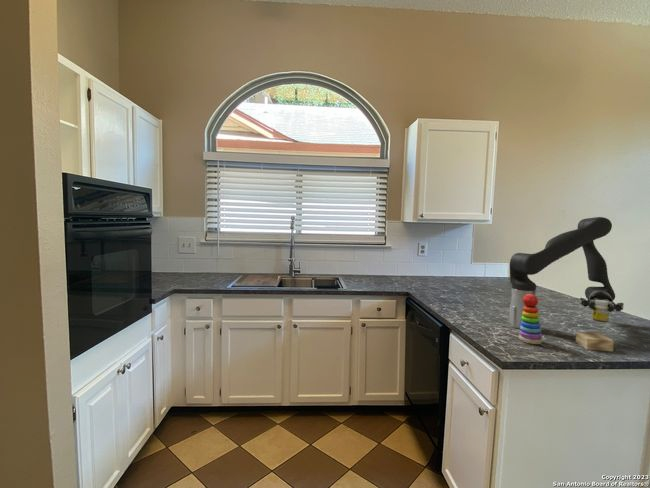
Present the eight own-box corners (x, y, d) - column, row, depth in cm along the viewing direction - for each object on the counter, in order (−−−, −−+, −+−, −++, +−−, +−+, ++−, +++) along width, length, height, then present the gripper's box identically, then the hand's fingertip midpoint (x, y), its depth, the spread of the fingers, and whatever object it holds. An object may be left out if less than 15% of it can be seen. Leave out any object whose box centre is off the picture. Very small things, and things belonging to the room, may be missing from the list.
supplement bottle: (592, 319, 127) (593, 298, 126) (608, 321, 124) (609, 300, 123) (592, 322, 123) (593, 301, 123) (608, 324, 120) (610, 302, 120)
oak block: (586, 349, 115) (587, 338, 115) (575, 341, 123) (576, 331, 123) (613, 351, 113) (613, 340, 113) (600, 343, 121) (600, 333, 120)
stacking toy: (537, 338, 126) (538, 292, 125) (546, 345, 119) (548, 297, 118) (515, 336, 128) (516, 291, 127) (523, 344, 120) (524, 296, 119)
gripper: (579, 289, 138) (578, 295, 125) (624, 294, 129) (627, 301, 116) (578, 306, 139) (577, 314, 126) (622, 312, 130) (626, 321, 117)
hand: (601, 308), depth 121 cm, fingers closed on supplement bottle, 4 cm apart
